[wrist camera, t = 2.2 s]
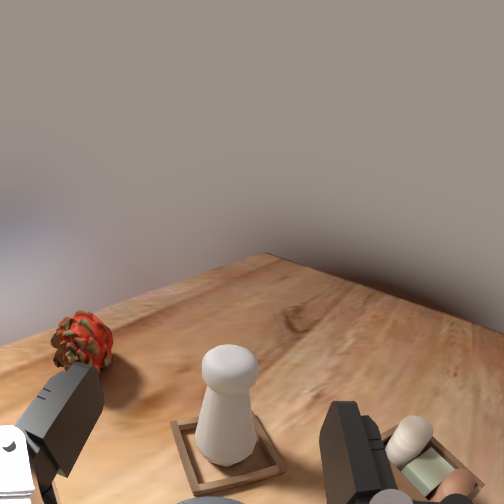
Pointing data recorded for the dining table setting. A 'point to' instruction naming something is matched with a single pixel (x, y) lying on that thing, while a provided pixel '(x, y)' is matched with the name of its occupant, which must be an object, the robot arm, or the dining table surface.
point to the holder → (232, 481)
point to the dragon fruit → (82, 342)
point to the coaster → (210, 501)
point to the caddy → (426, 463)
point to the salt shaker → (227, 405)
